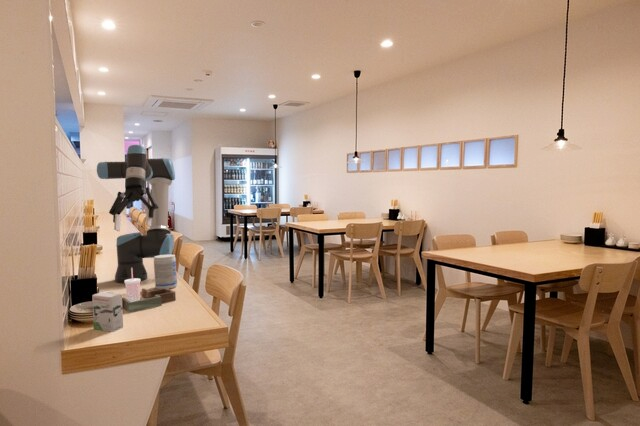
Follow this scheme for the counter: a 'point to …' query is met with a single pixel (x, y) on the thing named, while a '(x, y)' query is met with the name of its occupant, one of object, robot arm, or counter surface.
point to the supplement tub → (165, 271)
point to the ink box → (107, 311)
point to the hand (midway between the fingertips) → (132, 228)
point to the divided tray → (149, 299)
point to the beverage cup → (133, 288)
